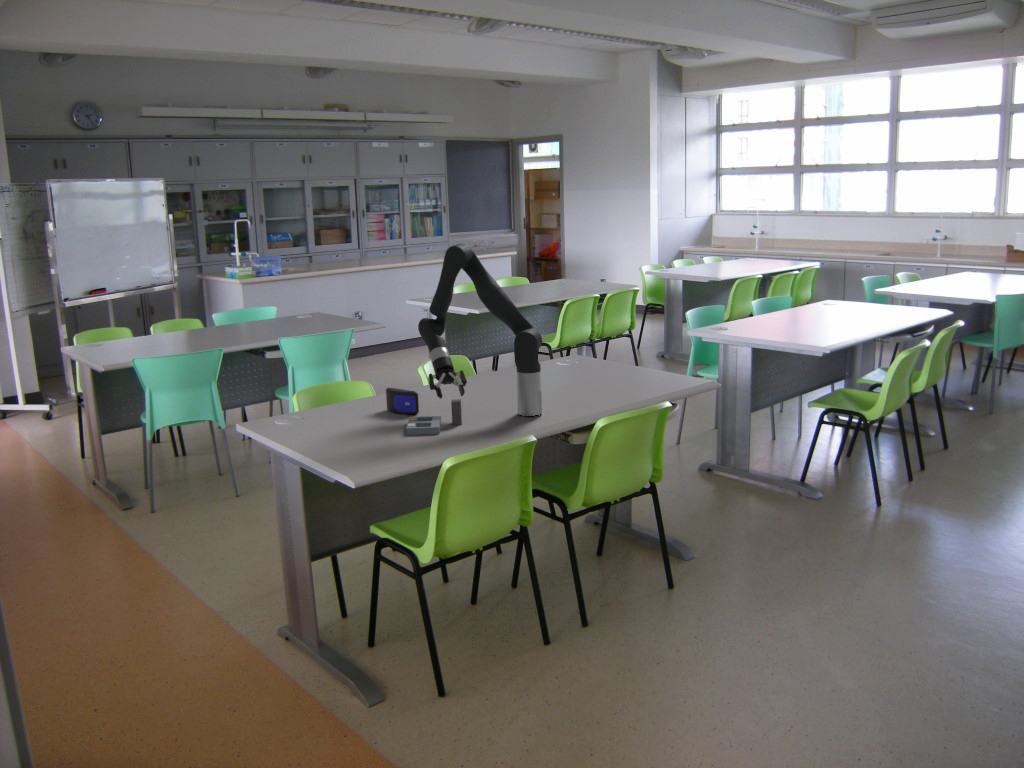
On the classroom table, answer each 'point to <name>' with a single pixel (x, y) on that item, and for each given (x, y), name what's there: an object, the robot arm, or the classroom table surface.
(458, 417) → the dark gray upright block
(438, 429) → the socket strip
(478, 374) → the classroom table surface
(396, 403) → the leaning round-cornered charcoal block
